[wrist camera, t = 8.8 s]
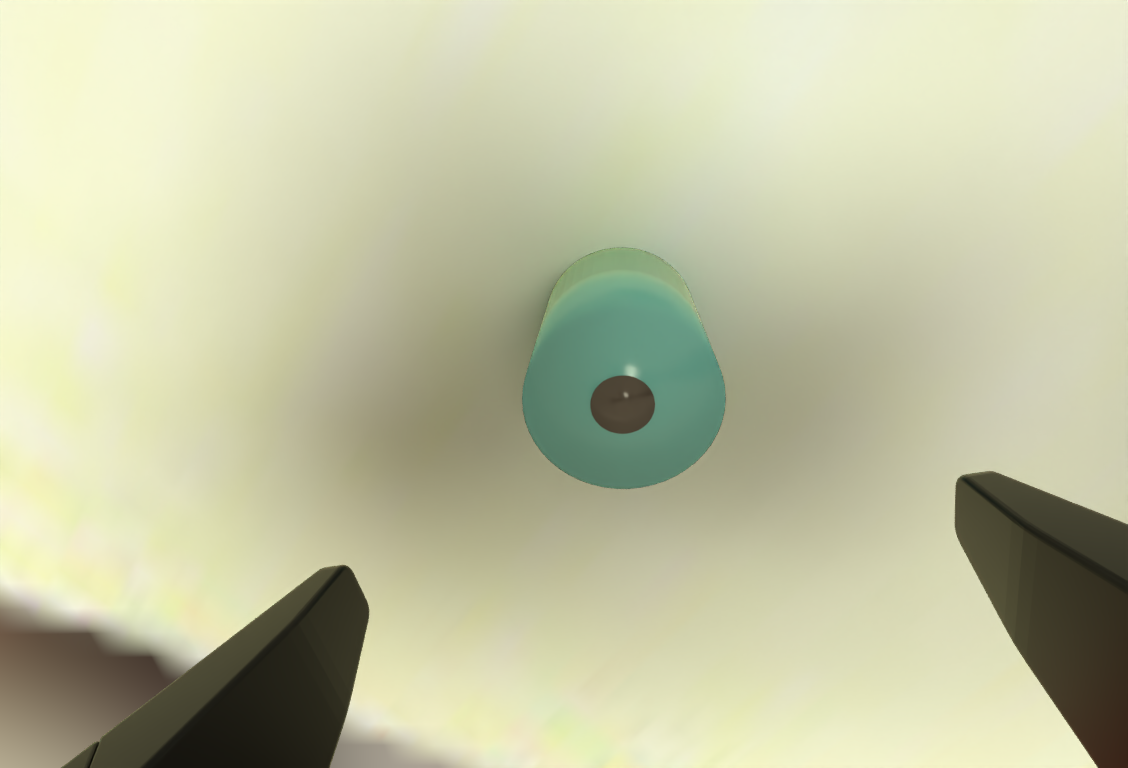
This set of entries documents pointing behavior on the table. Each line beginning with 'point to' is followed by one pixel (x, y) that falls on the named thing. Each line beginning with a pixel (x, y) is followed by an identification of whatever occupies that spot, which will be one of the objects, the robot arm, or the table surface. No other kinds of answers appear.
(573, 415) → the bead
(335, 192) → the table surface
